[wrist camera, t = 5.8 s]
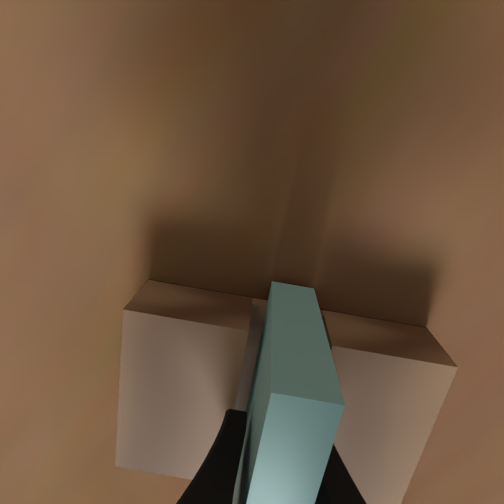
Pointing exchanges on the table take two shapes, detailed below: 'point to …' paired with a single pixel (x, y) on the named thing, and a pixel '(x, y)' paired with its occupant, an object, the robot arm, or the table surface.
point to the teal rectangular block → (289, 404)
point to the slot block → (240, 378)
